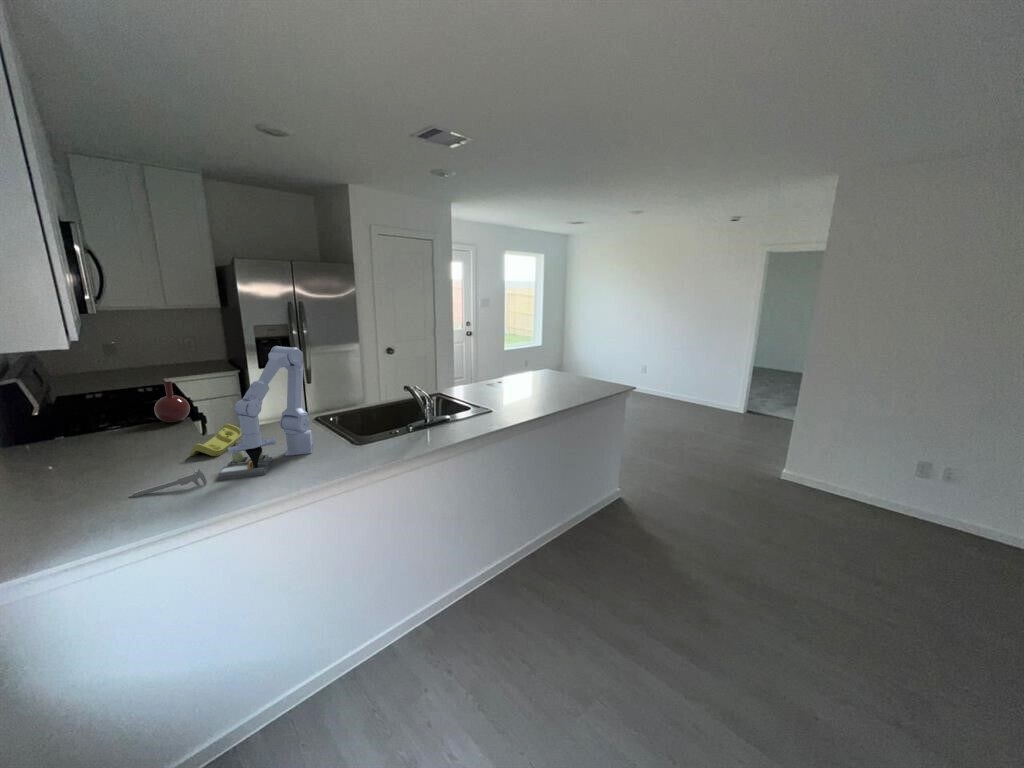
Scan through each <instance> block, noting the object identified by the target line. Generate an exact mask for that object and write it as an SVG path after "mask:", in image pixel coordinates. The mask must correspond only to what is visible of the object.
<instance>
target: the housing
mask: <svg viewBox="0 0 1024 768" xmlns="http://www.w3.org/2000/svg"><path fill="white" fill-rule="evenodd" d="M261 448H262V449H263V447H261ZM244 459H245V462H241V463H233V457H232V458H231V459H230V460H229V462H228V463H227V465H226V466H223V467H222V468H221V469H220V471H219V472H218V474H219V476H218V479H219V480H227V479H236V478H237V479H238V478H243V477H244V478H245V477H247V478H248V477H254V476H262V475H263V476H264V475H266V473H267V471H268V469H269V467H270V465H271V463H272V462H273V456H269V454H263V452H262V453H261V455H260V457H259V460H258V467H257V468H255V467H254V466H253V469H247V470H238V471H229V472H222V470H223V469H224V468H227V467H237V466H246V465H248V463H249V462H250V461H252V460H251V459H250V457H249V455H248V456H247V455H246V456H244Z"/></svg>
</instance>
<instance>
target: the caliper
mask: <svg viewBox="0 0 1024 768" xmlns="http://www.w3.org/2000/svg"><path fill="white" fill-rule="evenodd" d="M199 479H200V480H201V481H202V483H203V485H204V486H207V483H208V481H207V476H206V474H205V472H204V471H203V470H202V471H201V469H200V468H199V469H198V470H196V469H195V470H194V471H193V473H190V474H187V475H184V476H181V477H178V478H177V479H174V480H170V481H168V482H165V483H161V484H158V485H154V486H151V487H146V488H144V489H141V490H138V491H137V490H136V491H134V492H132V494H129V495H128V498H133V497H134V498H135V497H140V496H141V497H142V496H143V495H148V494H150V493H154V492H157V491H160V490H164V489H167V488H171V487H174V486H177V485H180V486H184V485H188V484H190V483H194V484H195V485H196V486H197V487H198V488H199V487H201V482H200V481H199Z"/></svg>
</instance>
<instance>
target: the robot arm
mask: <svg viewBox="0 0 1024 768" xmlns="http://www.w3.org/2000/svg"><path fill="white" fill-rule="evenodd" d="M270 349H271V350H270V352H269V353H268V355H267V356H268V361H267V363H266V364H265V367H264V368H263V370H262V372H261V374H260V376H259V377H258V380H255V381H252V383H250V385H249V388H248V389H247V390H246V392H245V394H244V395H243V397H242V399H240V400H238V401H237V402H236V403H235V405H234V408H233V412H234V414H235V415H237V420H239V427H240V429H241V440H242V443H240V444H237V445H233V446H231V447H230V448H228V450H227V451H228V452H227V453H228V454H229V455H232V454H233V453H236V452H241V451H244V452H246V454H247V455H248V456H249V457H250V459H251V460H252V463H253V466H254V467H255V468H257V467H258V460H259V457H260V455H261V453H263V447H266V446H271V445H276V444H277V441H276V438H275V437H271V438H266V439H262V435H261V428H260V427H261V426H260V418H259V414H260V413H261V412H262V405H263V400H264V399H265V397H266V395H268V392H269V390H270V387H269V384H270V382H271V381H272V380H273V379H274V377H275V376H276V374H277V373H278V372H279V370H280V369H281V368H285V369H286V370H287V390H286V392H287V393H286V394H287V397H286V409H284V410H283V411H282V412H281V418H280V420H279V427H280V428H281V429H282V430H283V432H284V433H285V438H286V439H285V440H286V447H287V450H286V452H285V454H284V455H285V456H286V457H287V456H288V457H289V456H298V455H305V454H306V455H307V454H308V455H309V454H312V451H313V448H314V442H313V433H312V429H309V427H310V419H309V416H308V415H309V413H308V412H307V411H306V410H305V409H304V408H303V392H304V391H303V390H304V389H303V387H304V385H303V384H304V383H303V382H304V363H303V362H304V361H303V360H304V359H303V358H304V354H303V352H302V351H301V349H299V347H296V346H295V347H289V346H279V345H275V346H272V348H270ZM261 447H262V448H261Z"/></svg>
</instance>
